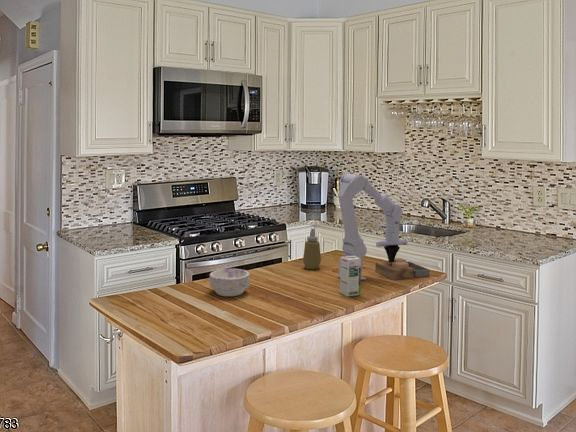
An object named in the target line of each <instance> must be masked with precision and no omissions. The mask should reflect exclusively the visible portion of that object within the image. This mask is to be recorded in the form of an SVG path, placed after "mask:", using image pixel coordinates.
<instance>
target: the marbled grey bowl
mask: <svg viewBox="0 0 576 432" xmlns="http://www.w3.org/2000/svg"><path fill="white" fill-rule="evenodd" d="M250 276H251V275H250V272H249V271H247V270H246V269H242V268H241V269H240V268H222V269H217V270H213V271H211V272H210V273H209V287H210V289H212V290H214V291H215V293H216V294H217V295H218V296H221V297H236V296H240V295H242V294H243V293H244V291H245V290H246V289H248V288H249V287H250V285H251V283H250V282H251V281H250V280H251V279H250Z"/></svg>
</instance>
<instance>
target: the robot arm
mask: <svg viewBox="0 0 576 432" xmlns="http://www.w3.org/2000/svg"><path fill="white" fill-rule="evenodd" d="M338 182H339V190H338V203H339V207H340V213H341V218H342V224H343V230H344V234H345V237H344V238H342V252H343V253H344V257H346V256H357V257H359V258H361V281H363V280H367V278H366V277H364V276H363V263H364V262H363V261H364V257H365V256H366V255H367V252H368V251H367V250H368V249H367V246H366V244H365V243H364V240H363V238H362V236H361V235H360V233H359V229H358V224H357V223H358V222H357V217H356V211H355V205H354V198H355V196H357V195H358V194H359V193H360V192H361V191H364V192H365V193H366V194H367V195H368V196H369V197H371V199H373V200H374V204H375V205H376V206H377V207H378V208H379V209H380V210H382V212H383V214H384V216H385V219H386V220H385V237H384V238H385V239H384V240H382V241H376V242H375V243H376V244H375V247H376V248H384V251H385V253H386V255H387V259H388V261H389V262H391V263H392V262H394V259H395V258H396V257H397V256H396V255H397V254H398V252H399V251H400V248H401V247H400V246H408V240H406V239H400V222H401V217H402V216H403V214H404V211H403V209H402V207H401V206H400V204H396V203H395V200H393V199H391V198H390V197H389V195H388V193H383V192H382V193H381V192H380V191H379V190H377V189H376V187H374V186H373V184H372V183H371V182H370V181H369V180H368V178H366V177H365V176H364V175H363V174H355V173H349V172H346V173H344V174H343V175H342V176H341V178H340V179H339V181H338ZM337 277H338V278H340V277H341V258H340V259H339V262H338V276H337Z"/></svg>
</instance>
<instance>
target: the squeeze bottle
mask: <svg viewBox="0 0 576 432" xmlns="http://www.w3.org/2000/svg"><path fill="white" fill-rule="evenodd" d="M318 238H319V237H318V236H316V233H315V229H314V228H310V234H309V235H308V236H307V237H306V240H307V241H305V242H304V249H303V257H302V258H303V264H304V268H305V269H307V270H313V271H314V270H318V269H319V267H320V264H321V262H322V259H321V258H322V257H321V245H320V242H319V241H318V240H319V239H318Z"/></svg>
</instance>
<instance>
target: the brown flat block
mask: <svg viewBox="0 0 576 432" xmlns="http://www.w3.org/2000/svg"><path fill="white" fill-rule="evenodd" d="M375 273H378V274H380V275H382V276H384V277H386V278H388V279H390V280H392V281H397V280H406V279H415V278H414V269H413V268H411V267H409V268H403V269H397V268H395V267H393V266H392V263H390V262H389V260H388V261H379V262H378V261H377V262H375Z"/></svg>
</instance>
